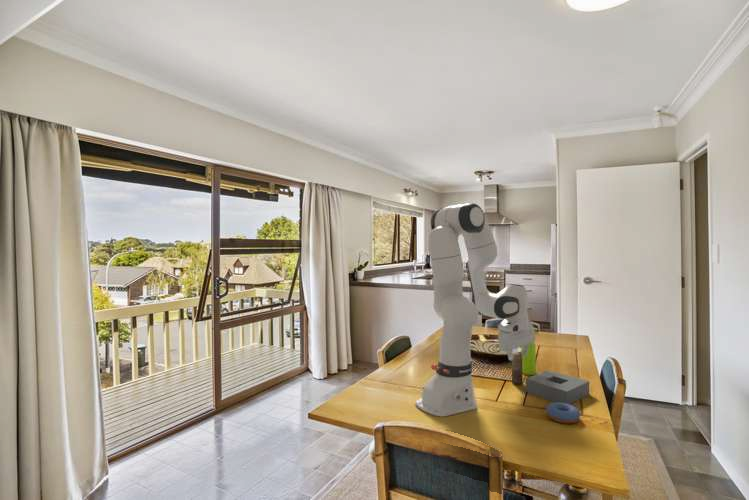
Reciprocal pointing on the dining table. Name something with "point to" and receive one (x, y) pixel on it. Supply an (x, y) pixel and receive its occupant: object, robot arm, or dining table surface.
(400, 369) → the dining table surface
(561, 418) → the doughnut
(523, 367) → the soap dispenser
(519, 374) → the peg
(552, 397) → the socket block
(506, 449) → the dining table surface
